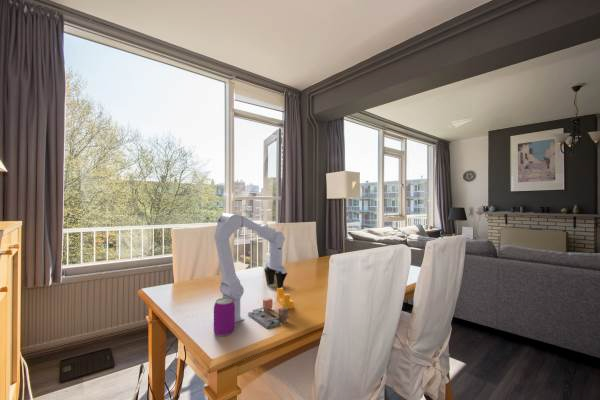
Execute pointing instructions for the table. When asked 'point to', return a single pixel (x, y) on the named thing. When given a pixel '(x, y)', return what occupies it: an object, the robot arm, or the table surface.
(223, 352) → the table surface
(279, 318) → the trammel bar
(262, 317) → the strip
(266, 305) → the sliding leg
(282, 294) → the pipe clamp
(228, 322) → the beverage can
